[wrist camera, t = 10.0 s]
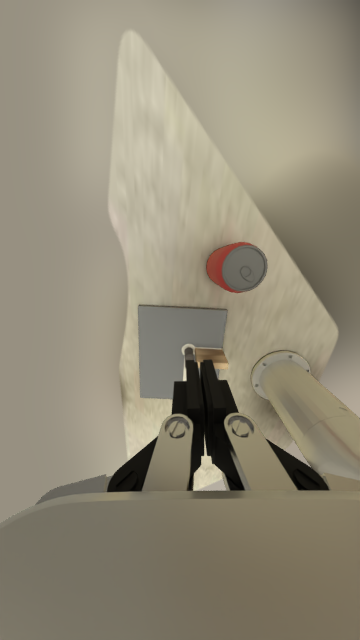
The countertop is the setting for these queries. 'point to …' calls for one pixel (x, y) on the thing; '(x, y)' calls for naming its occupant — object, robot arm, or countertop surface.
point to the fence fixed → (211, 357)
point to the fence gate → (188, 354)
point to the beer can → (237, 267)
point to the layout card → (173, 343)
